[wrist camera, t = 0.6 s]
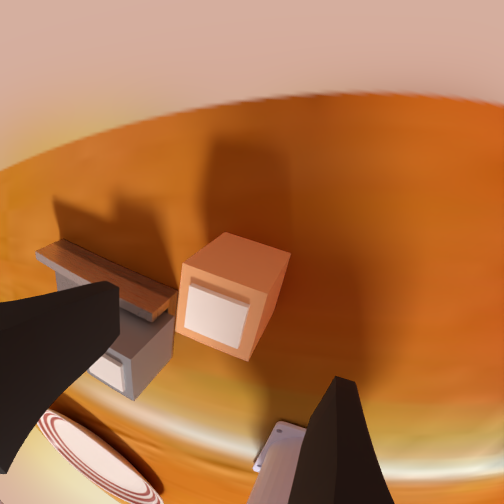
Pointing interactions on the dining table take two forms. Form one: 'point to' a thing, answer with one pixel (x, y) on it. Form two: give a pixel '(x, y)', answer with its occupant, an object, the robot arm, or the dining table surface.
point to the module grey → (135, 353)
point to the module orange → (230, 293)
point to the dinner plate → (97, 459)
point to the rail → (109, 280)
